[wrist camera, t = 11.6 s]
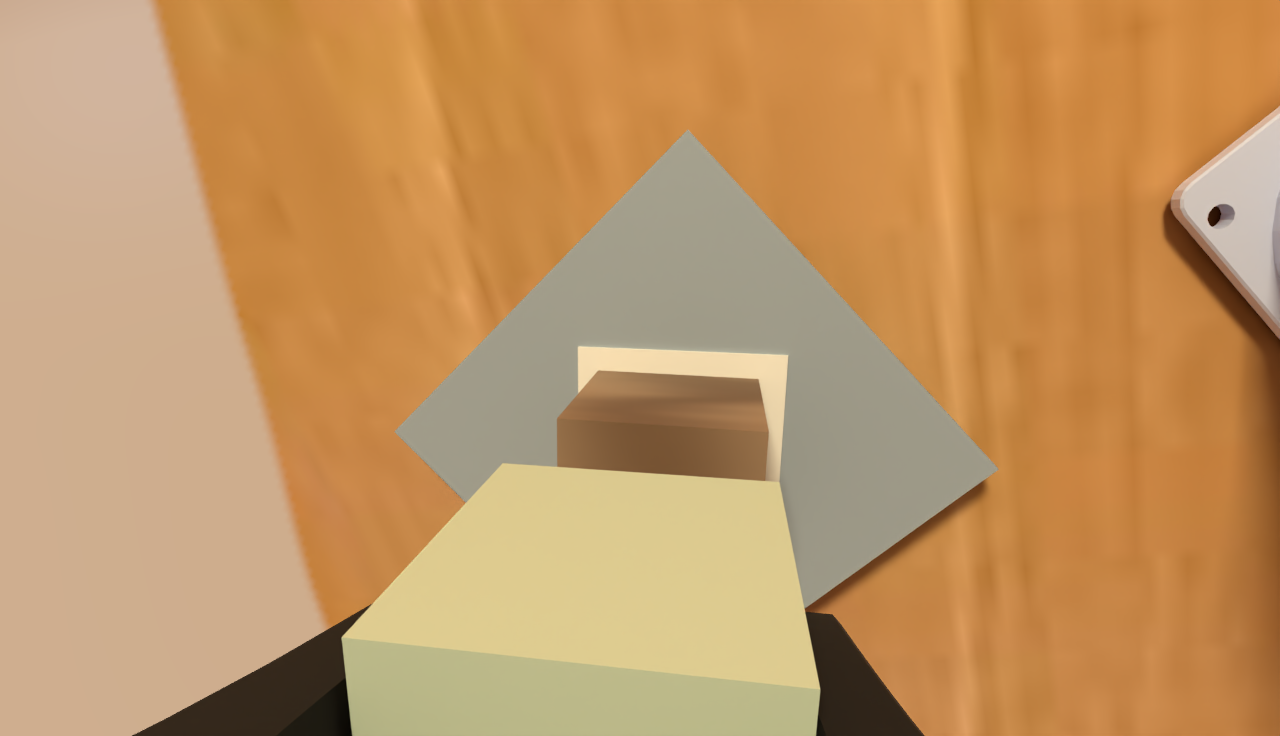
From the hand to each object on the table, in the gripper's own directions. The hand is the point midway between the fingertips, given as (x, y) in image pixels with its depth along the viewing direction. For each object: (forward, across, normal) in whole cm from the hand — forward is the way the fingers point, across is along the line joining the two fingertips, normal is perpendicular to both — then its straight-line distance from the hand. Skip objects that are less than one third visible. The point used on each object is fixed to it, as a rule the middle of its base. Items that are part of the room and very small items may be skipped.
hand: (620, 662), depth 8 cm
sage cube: (+1, 0, 0) cm, 1 cm away
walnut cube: (+8, 0, 0) cm, 8 cm away
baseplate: (+9, 0, 0) cm, 9 cm away
